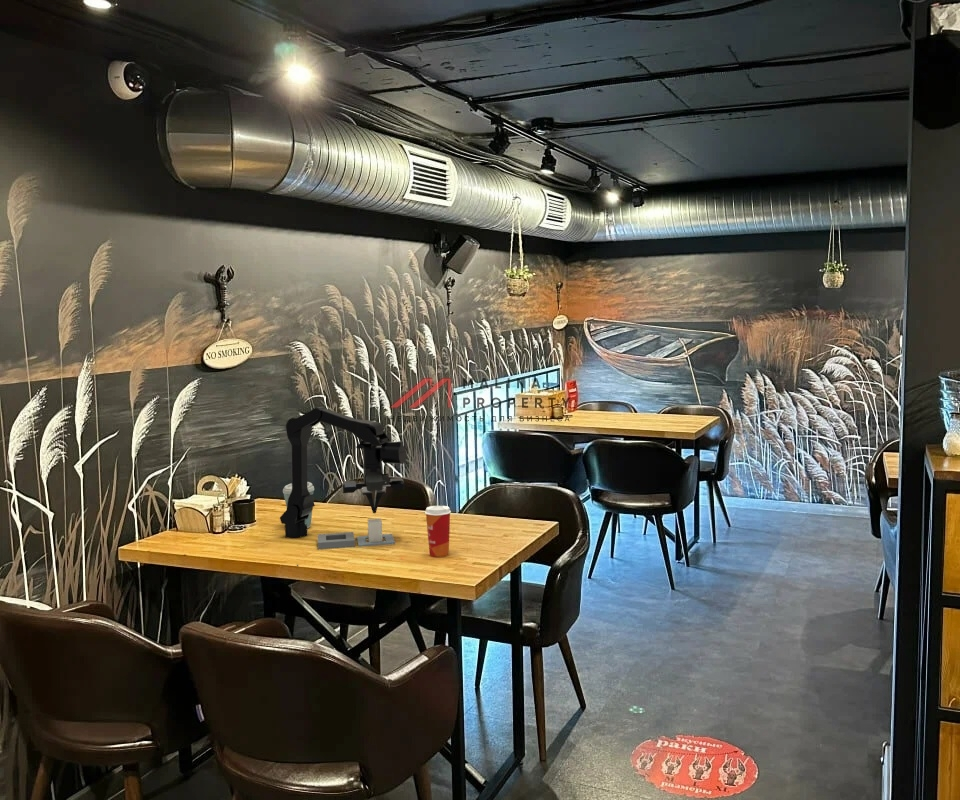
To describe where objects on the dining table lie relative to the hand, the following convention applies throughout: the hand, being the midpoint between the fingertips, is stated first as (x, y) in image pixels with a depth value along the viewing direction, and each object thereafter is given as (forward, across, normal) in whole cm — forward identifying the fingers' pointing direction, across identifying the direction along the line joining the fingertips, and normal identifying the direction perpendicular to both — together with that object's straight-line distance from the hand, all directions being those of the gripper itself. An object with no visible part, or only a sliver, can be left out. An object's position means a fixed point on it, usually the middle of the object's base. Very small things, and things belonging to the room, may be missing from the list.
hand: (374, 513), depth 259 cm
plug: (+10, 0, 0) cm, 10 cm away
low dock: (+10, 0, 0) cm, 10 cm away
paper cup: (+10, +18, -16) cm, 26 cm away
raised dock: (+10, -12, 0) cm, 16 cm away
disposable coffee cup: (+10, -23, +32) cm, 41 cm away
